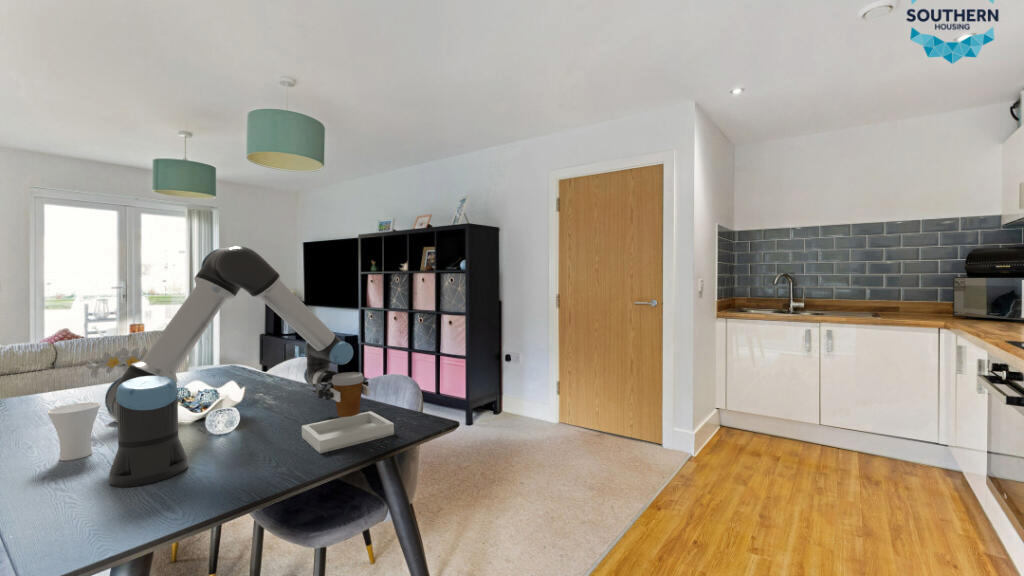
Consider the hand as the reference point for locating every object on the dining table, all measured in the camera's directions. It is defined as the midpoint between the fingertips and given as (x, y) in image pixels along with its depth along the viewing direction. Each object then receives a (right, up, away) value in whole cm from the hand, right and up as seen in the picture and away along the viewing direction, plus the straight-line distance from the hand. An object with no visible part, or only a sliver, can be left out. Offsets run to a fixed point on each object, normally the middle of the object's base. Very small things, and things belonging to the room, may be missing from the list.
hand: (354, 394), depth 133 cm
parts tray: (-3, -14, +4) cm, 14 cm away
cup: (-73, -15, -10) cm, 75 cm away
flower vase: (-86, -14, +20) cm, 90 cm away
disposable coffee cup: (-3, -7, +4) cm, 9 cm away
